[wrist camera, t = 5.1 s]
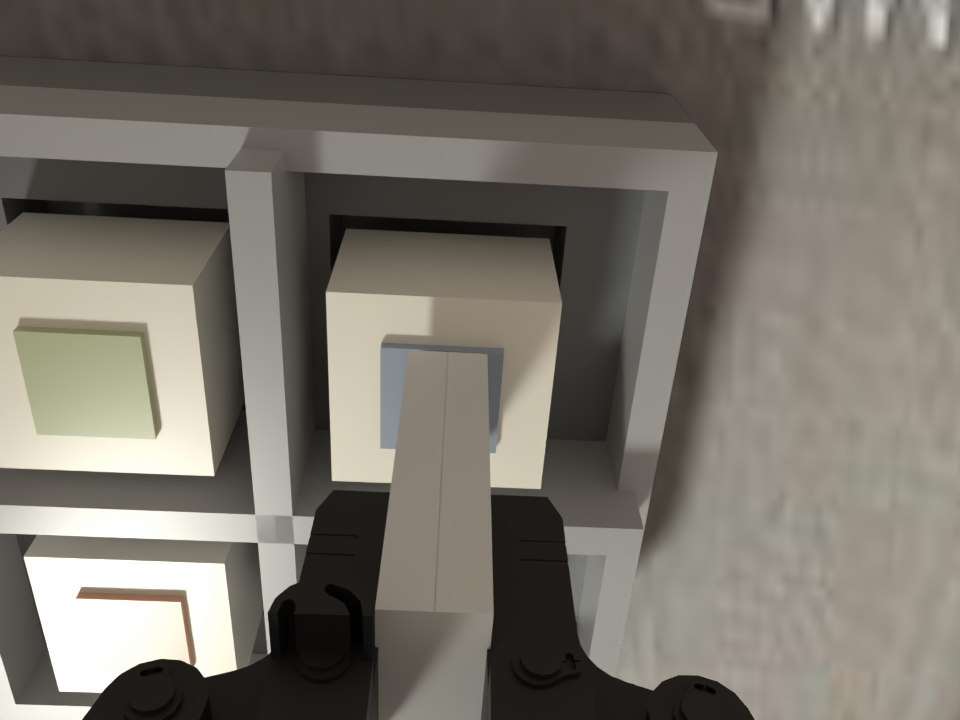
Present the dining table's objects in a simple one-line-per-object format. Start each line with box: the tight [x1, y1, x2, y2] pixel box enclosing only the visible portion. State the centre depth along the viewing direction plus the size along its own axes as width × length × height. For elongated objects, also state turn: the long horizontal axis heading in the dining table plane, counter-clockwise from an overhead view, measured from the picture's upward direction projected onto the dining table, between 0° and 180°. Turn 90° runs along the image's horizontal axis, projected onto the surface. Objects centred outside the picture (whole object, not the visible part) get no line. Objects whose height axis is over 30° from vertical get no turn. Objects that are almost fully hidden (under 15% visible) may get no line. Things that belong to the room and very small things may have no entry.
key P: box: [0, 212, 245, 476], centre depth 19 cm, size 4×4×3 cm
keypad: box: [0, 56, 718, 720], centre depth 22 cm, size 17×18×6 cm
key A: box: [24, 535, 264, 693], centre depth 23 cm, size 4×4×3 cm
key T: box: [326, 229, 562, 489], centre depth 19 cm, size 4×4×3 cm
